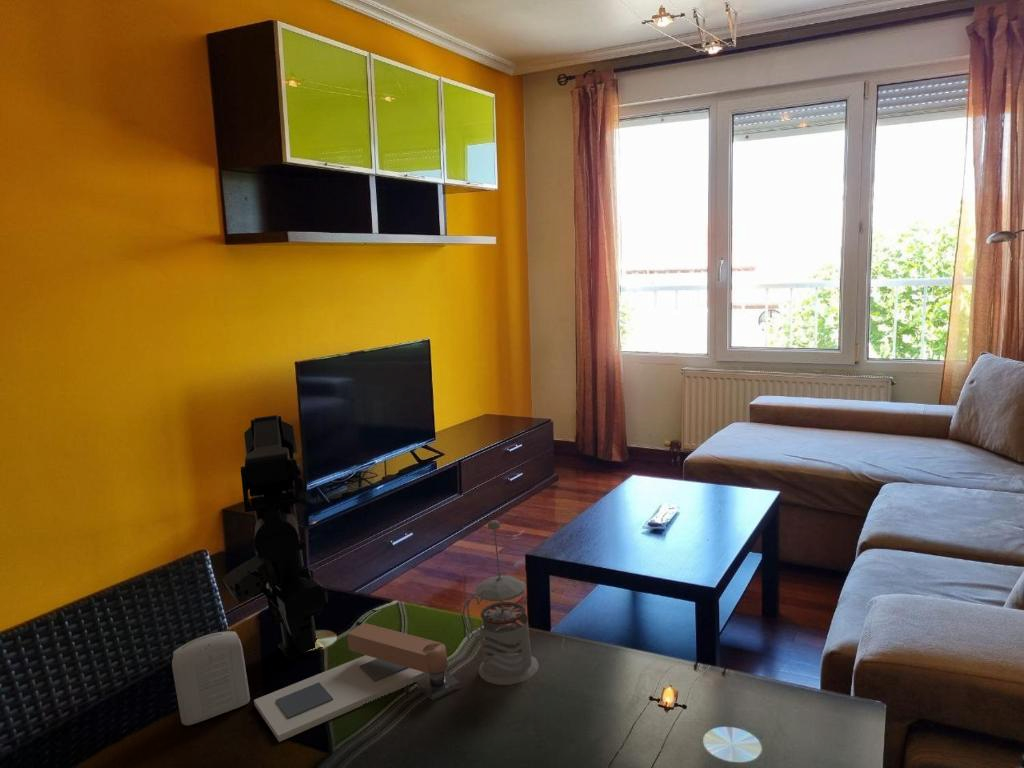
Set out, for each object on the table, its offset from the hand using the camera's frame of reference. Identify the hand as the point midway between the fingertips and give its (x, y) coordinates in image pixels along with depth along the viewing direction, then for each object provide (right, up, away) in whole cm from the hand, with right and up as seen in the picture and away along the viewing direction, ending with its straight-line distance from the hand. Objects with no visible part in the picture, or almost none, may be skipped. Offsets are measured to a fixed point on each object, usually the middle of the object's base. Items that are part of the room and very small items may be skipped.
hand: (294, 634), depth 114 cm
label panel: (+7, -11, +6) cm, 14 cm away
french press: (+32, -8, +8) cm, 34 cm away
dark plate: (+22, -10, +4) cm, 24 cm away
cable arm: (+15, -6, +7) cm, 18 cm away
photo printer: (-13, -13, +3) cm, 19 cm away
